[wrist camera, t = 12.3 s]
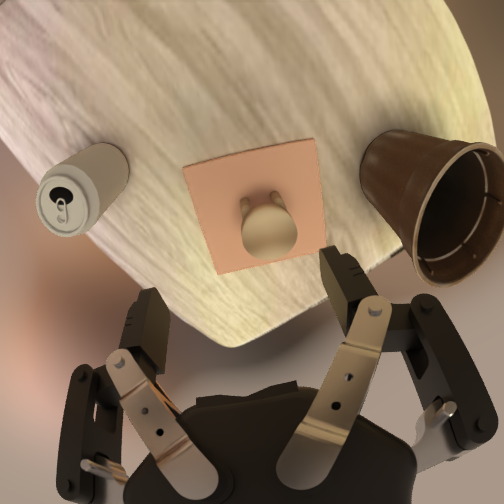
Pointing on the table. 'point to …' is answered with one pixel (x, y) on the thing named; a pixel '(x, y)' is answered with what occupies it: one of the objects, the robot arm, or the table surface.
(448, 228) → the plant pot
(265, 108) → the table surface
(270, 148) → the mat
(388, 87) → the table surface
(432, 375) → the robot arm
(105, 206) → the can
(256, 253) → the stool
